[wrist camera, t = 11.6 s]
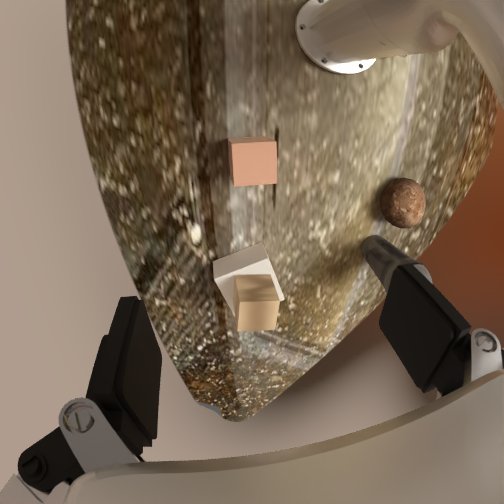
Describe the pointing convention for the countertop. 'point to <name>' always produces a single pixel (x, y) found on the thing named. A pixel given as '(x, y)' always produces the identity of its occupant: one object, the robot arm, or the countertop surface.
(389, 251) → the beverage cup
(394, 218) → the mushroom
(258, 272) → the white block
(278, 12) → the countertop surface
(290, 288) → the countertop surface
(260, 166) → the terracotta block
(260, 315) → the oak block
